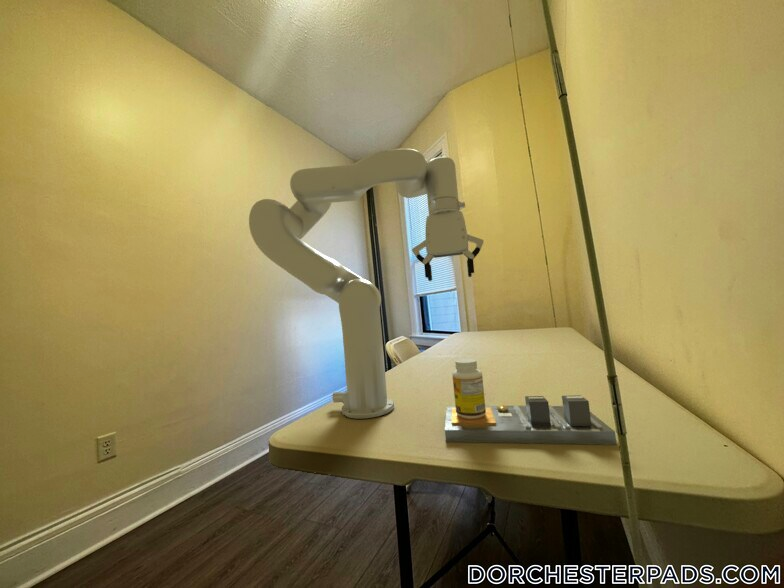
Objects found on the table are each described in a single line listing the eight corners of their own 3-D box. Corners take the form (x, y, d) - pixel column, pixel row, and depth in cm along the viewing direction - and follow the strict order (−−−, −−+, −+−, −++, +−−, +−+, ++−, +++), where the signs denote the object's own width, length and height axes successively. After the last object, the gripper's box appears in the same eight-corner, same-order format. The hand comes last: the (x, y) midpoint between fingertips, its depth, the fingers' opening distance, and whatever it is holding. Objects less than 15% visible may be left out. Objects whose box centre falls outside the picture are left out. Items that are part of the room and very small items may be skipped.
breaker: (571, 425, 48) (568, 400, 48) (564, 418, 50) (561, 394, 51) (591, 426, 47) (588, 399, 47) (583, 418, 50) (580, 394, 50)
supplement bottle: (457, 408, 59) (453, 358, 59) (486, 409, 57) (481, 357, 57) (454, 419, 53) (449, 363, 54) (485, 421, 51) (480, 363, 52)
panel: (445, 441, 50) (442, 405, 50) (447, 415, 62) (445, 386, 62) (616, 444, 45) (611, 403, 45) (582, 415, 56) (579, 383, 57)
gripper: (479, 209, 73) (485, 276, 72) (412, 219, 77) (417, 283, 76) (480, 199, 66) (487, 273, 65) (406, 210, 70) (412, 280, 69)
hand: (449, 278), depth 71 cm, fingers open, 9 cm apart
